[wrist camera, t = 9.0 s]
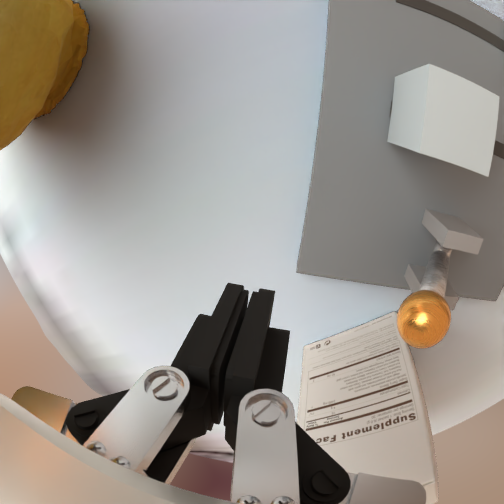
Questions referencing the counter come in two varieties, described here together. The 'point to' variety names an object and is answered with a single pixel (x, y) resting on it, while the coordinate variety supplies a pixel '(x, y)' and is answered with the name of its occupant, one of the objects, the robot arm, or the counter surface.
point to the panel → (402, 153)
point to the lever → (427, 304)
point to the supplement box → (369, 404)
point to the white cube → (444, 117)
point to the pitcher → (37, 59)
